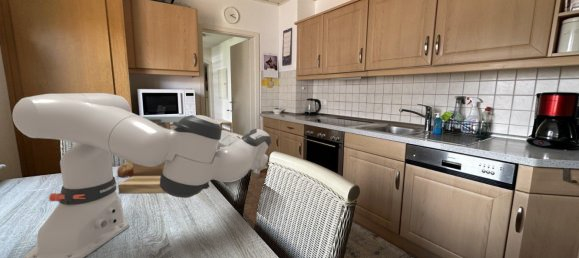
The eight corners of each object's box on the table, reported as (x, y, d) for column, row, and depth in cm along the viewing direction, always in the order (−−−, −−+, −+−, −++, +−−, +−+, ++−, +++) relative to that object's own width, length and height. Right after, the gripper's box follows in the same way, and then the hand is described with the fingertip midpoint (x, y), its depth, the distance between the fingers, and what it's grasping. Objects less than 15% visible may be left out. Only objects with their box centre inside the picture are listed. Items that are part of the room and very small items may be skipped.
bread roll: (127, 178, 124) (117, 164, 122) (147, 168, 126) (138, 154, 124) (120, 185, 114) (110, 171, 112) (142, 174, 116) (132, 160, 114)
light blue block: (183, 122, 107) (182, 116, 107) (131, 122, 107) (130, 116, 106) (186, 121, 111) (186, 115, 111) (136, 121, 111) (136, 115, 110)
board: (181, 192, 98) (180, 184, 97) (119, 193, 97) (118, 184, 96) (190, 183, 108) (190, 175, 107) (133, 183, 107) (133, 175, 106)
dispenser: (162, 182, 108) (157, 119, 103) (134, 183, 107) (128, 120, 103) (173, 174, 119) (169, 117, 114) (148, 174, 118) (142, 117, 114)
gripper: (225, 159, 102) (194, 142, 100) (234, 147, 122) (209, 133, 121) (232, 146, 101) (201, 129, 100) (241, 136, 121) (215, 122, 120)
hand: (206, 131), depth 110 cm, fingers open, 8 cm apart
